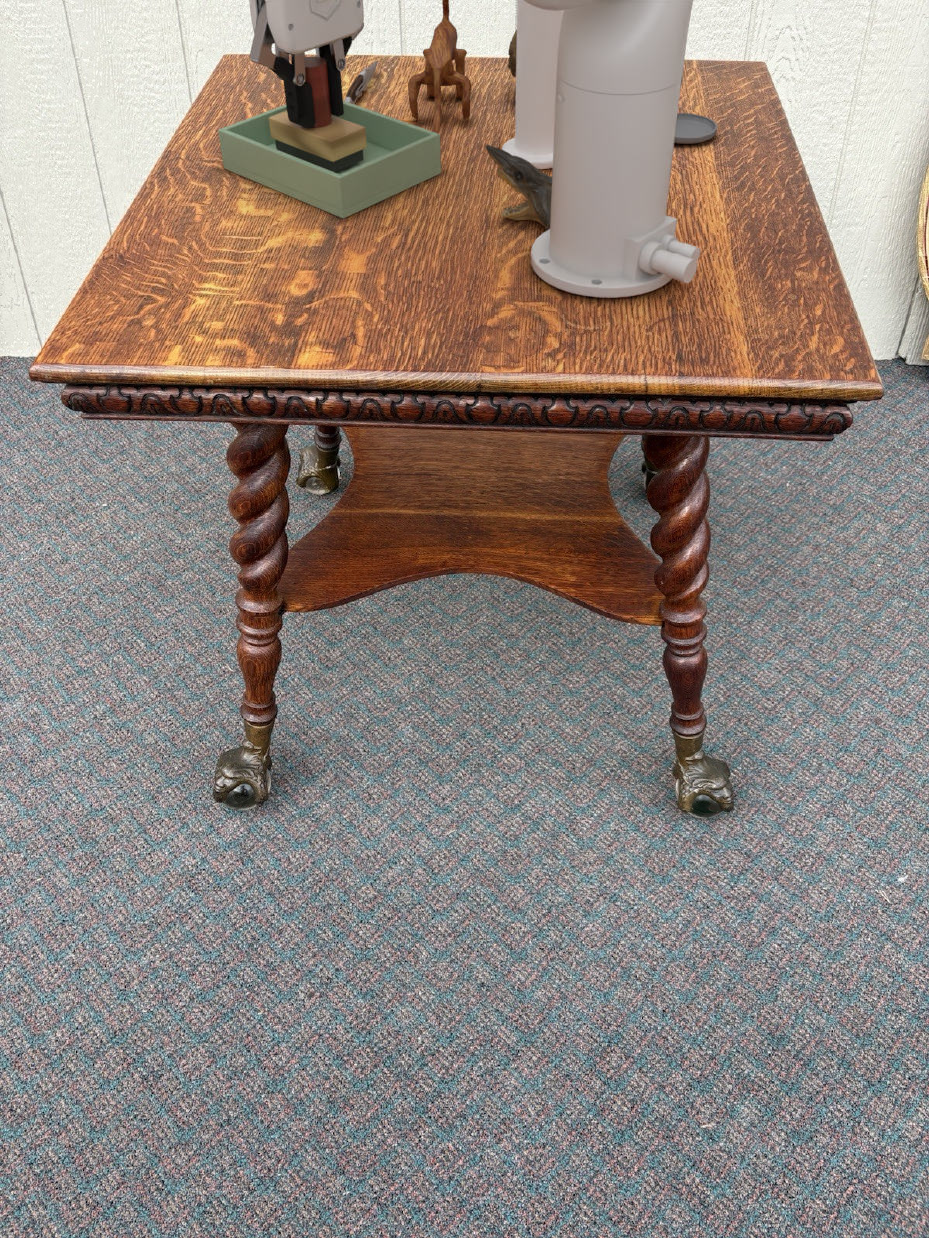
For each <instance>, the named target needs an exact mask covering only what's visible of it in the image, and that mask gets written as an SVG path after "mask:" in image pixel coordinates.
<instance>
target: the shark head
mask: <svg viewBox="0 0 929 1238" xmlns="http://www.w3.org/2000/svg"><path fill="white" fill-rule="evenodd" d="M484 149H485V150H486V151H487V153H488V155H489V156H490V158H491V159H492V160H493V162H494V163H495V164H496V165H497V166H498V167H497V169H496V174H497V175H496V176H497V177H498V178H499V179H500V180H501V181H502V182H505V183H506V184H507V185H508V186H510V187H511V189H514V191H515V193H518V194H519V195H522V196H524V197H525V199H526V200H524V201H522V202H521V203H518V205H516V204H515V205H514V206H513V207H512V206H508V207H504V208H503V210H502V211H501V216H502V218H505V219H510V220H513V221H526V220H528V221H531V222H537V223H539V224H540V225H541V226H542V227H543V228H544V229H545V232H546V231H547V230H549V229H550V219H551V195H552V175H548V174H547V173H545V172H542V171H541V169H537V168H536V167H535V166H533V165H532V164H531V163H530V162H529V161H527V160H525V159H523V158H521V157H518V156H513V155H511V154H509V153H508V152H506V151H504V150H502V148H498V147H497V146H493V145H490V144H486V145H485V146H484Z"/></svg>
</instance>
